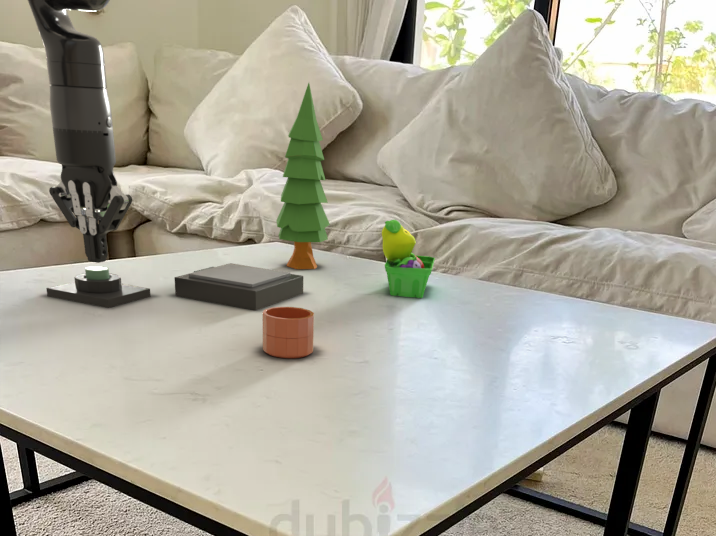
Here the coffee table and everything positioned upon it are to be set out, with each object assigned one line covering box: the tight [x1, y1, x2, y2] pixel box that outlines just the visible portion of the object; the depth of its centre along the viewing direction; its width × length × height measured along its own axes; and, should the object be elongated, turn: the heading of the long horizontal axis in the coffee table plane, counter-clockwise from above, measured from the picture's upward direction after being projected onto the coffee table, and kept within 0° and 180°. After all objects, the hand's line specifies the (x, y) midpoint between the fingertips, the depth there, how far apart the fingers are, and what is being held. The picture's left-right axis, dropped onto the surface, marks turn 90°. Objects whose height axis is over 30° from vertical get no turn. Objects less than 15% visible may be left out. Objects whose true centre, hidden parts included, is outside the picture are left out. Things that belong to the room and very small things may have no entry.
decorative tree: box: [275, 82, 330, 270], centre depth 136 cm, size 10×9×30 cm
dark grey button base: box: [46, 272, 152, 309], centre depth 113 cm, size 11×9×3 cm
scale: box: [173, 262, 304, 311], centre depth 119 cm, size 14×14×4 cm
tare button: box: [84, 265, 110, 280], centre depth 112 cm, size 3×3×2 cm
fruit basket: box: [381, 219, 436, 299], centre depth 127 cm, size 11×9×11 cm
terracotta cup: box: [262, 306, 315, 359], centre depth 94 cm, size 6×6×5 cm
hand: (97, 261), depth 111 cm, fingers closed
